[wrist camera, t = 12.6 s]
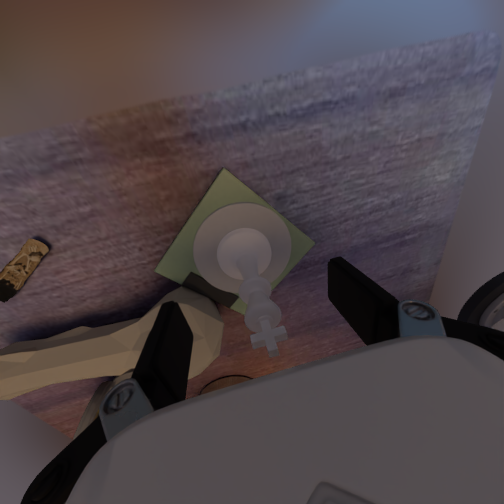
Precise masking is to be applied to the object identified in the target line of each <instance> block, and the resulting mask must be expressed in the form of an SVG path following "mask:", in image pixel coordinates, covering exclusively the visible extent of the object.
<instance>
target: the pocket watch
mask: <svg viewBox="0 0 504 504" xmlns="http://www.w3.org/2000/svg"><path fill="white" fill-rule="evenodd" d="M134 369H135V368H132V369H129V370H128V371H126V372H125V373H123V374H122V375H117V376H116V377H115V378H114V380H112V381H106V382H102V383H101V384H100V386H99V387H98V388H97V390H96V391H95V393H94V395H93V397H92V398H91V400H90V402H89V404H88V406H87V408H86V410H85V412H84V414H83V416H82V418H81V420H80V423H79V425H78V428H77V430H76V433H75V435H74V438H73V440H74V439H75V438H76V437H77V436H78V435H79V434H80V433H81V432H82V431H84V430H85V429H86V428H87V427H88V426H89V425H90V424H91V423H92V422H93V421H94V420H95V419H96V418H97V417H98V416H99V407H100V404H101V402H102V400H103V398H104V397H105V395H106V394H107V393H108V392H109V391H110V390H111V389H112V388H113V387H114V386H115V385H116V384H118V383H119V382H121V381H123V380H125V379H129V378H131V376H132V374H133V371H134Z"/></svg>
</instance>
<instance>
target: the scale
mask: <svg viewBox="0 0 504 504" xmlns="http://www.w3.org/2000/svg"><path fill="white" fill-rule="evenodd" d="M240 228H251V229H255V230H257V231H259V232H261V233H262V234H263V235H264V236H265V237H266V238H267V239H268V241H269V243H270V247H271V252H272V255H271V261H270V263H269V265H268V267H267V268H266V270H265V271H264V272H263V273H261V274H260V275H259V277H263V278H265V279H267V280H268V281H269V282H270V284H271V291H272V290H273V289H274V288H275V287H276V286H277V285H278V284H279V283H280V281H281V280H282V279H283V278H284V277H285V276H286V275H287V274H288V273H289V272H290V271H291V270H292V268H293V267H294V266H295V265H296V264H297V263H298V262H299V261H300V260H301V259H302V258H303V256H304V255H305V254H306V253H307V252H308V251H309V250H310V249H311V248H312V247H313V246H314V244H315V242H314V241H313V240H311V239H310V238H309V237H308V236H306V235H305V234H304V233H303V232H302V231H300V230H299V229H298V228H297V227H296V226H294V225H293V224H292V223H291V222H289V221H288V220H287V219H286V218H285V217H283V216H282V215H281V214H280V213H279V212H277V211H276V210H275V209H274V208H273V207H271V206H270V205H269V204H268V203H266V202H265V201H264V200H263V199H262V198H260V197H259V196H258V195H257V194H256V193H254V192H253V191H252V190H251V189H250V188H248V187H247V186H246V185H245V184H243V183H242V182H241V181H240V180H239V179H237V178H236V177H235V176H234V175H233V174H231V173H230V172H229V171H228V170H226V169H225V168H224V167H223V168H222V169H221V171H220V172H219V174H218V175H217V177H216V178H215V180H214V181H213V183H212V184H211V186H210V187H209V189H208V190H207V192H206V193H205V195H204V196H203V198H202V199H201V201H200V202H199V204H198V205H197V207H196V208H195V210H194V211H193V213H192V214H191V215H190V217H189V218H188V220H187V221H186V223H185V224H184V226H183V227H182V229H181V230H180V232H179V233H178V235H177V236H176V238H175V239H174V241H173V242H172V244H171V245H170V247H169V248H168V250H167V251H166V253H165V254H164V256H163V257H162V259H161V260H160V262H159V264H158V265H157V267H156V269H155V270H154V272H156V273H158V274H160V275H162V276H164V277H167V278H169V279H171V280H173V281H175V282H177V283H179V284H181V285H183V286H185V287H187V288H189V289H191V290H193V291H195V292H197V293H199V294H201V295H204V296H206V297H208V298H210V299H212V300H214V301H216V302H218V303H220V304H222V305H224V306H226V307H228V308H231V309H233V310H235V311H237V312H239V313H241V314H243V315H245V312H246V309H247V305H248V304H246V303H244V302H243V301H242V299H241V298H240V296H239V288H240V286H241V284H242V283H243V282H244V280H239V279H234V278H232V277H230V276H228V275H227V274H225V273H224V272H223V271H222V269H221V268H220V266H219V263H218V260H217V248H218V245H219V243H220V241H221V240H222V239H223V237H224V236H225V235H227V234H228V233H229V232H231V231H233V230H236V229H240Z"/></svg>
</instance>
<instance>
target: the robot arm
mask: <svg viewBox="0 0 504 504" xmlns="http://www.w3.org/2000/svg"><path fill="white" fill-rule="evenodd" d="M328 297H329V300H330V301H331V302H332V304H333V305H334V306H335V307H336V309H337V310H338V311H339V312H340V314H341V315H342V316H343V317H344V318H345V320H346V321H347V322H348V323H349V325H350V326H351V327H352V328H353V329H354V331H355V332H356V333H357V334H358V336H359V337H360V338H361V339H362V340H363V342H364V343H365V344H366V345H367V346H364V347H361V348H357V349H354V350H350V351H347V352H343V353H340V354H336V355H333V356H329V357H326V358H323V359H319V360H316V361H312V362H309V363H305V364H302V365H299V366H295V367H292V368H289V369H285V370H282V371H278V372H275V373H272V374H268V375H265V376H262V377H258V378H255V379H252V380H248V381H245V382H242V383H238V384H235V385H232V386H228V387H225V388H222V389H219V390H215V391H212V392H209V393H205V394H202V395H199V396H196V397H193V398H190V399H187V400H185V397H186V390H187V382H188V375H189V368H190V361H191V354H192V347H193V339H194V337H193V332H192V330H191V328H190V326H189V324H188V322H187V320H186V318H185V316H184V314H183V312H182V310H181V308H180V306H179V304H178V303H177V302H174V301H169V302H165V303H162V305H161V307H160V310H159V312H158V315H157V317H156V320H155V322H154V325H153V327H152V329H151V331H150V332H149V334H148V337H147V339H146V342H145V344H144V347H143V349H142V351H141V354H140V356H139V359H138V361H137V364H136V366H135V369H134V371H133V374H132V376H131V378H129V379H125V380H123V381H121V382H119V383H118V384H116V385H115V386H114V387H113V388H112V389H111V390H110V391H109V392H108V393H107V394H106V395H105V397H104V398H103V400H102V402H101V404H100V407H99V416H98V417H97V418H96V419H95V420H94V421H93V422H92V423H91V424H90V425H89V426H88V427H87V428H86V429H85V430H84V431H82V432H81V433H80V434H79V435H78V436H77V437H76V438H75V439H74V440H73V441H72V442H71V443H70V444H69V445H68V446H67V447H66V448H65V449H64V450H62V451H61V452H60V453H59V454H58V455H57V456H56V457H55V458H54V459H53V460H52V461H51V462H50V463H49V464H48V465H47V466H46V467H45V468H44V469H43V470H42V471H41V472H40V473H39V474H38V475H37V476H36V478H35V479H34V480H33V482H32V483H31V484H30V486H29V488H28V489H27V491H26V493H25V494H24V497H23V499H22V501H21V504H504V293H502V294H501V295H500V296H498V297H497V298H496V299H495V300H494V301H493V302H492V303H491V304H490V305H489V306H488V307H487V308H486V309H485V311H484V312H483V314H482V315H481V318H480V321H479V325H475V324H471V323H467V322H463V321H458V320H454V319H450V318H446V317H441V316H440V314H439V312H438V311H437V310H436V309H435V308H434V307H433V306H431V305H429V304H427V303H425V302H422V301H419V300H413V299H407V300H403V301H400V302H399V301H398V300H397V299H395V297H394V296H392V295H391V294H390V293H388V292H387V291H386V290H384V289H383V288H382V287H380V286H379V285H378V284H376V283H375V282H374V281H373V280H371V279H370V278H369V277H367V276H366V275H365V274H363V273H362V272H361V271H359V270H358V269H357V268H355V267H354V266H353V265H351V264H350V263H349V262H347V261H346V260H345V259H343V258H342V257H336V258H332V259H330V262H328Z"/></svg>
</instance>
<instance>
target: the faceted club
mask: <svg viewBox="0 0 504 504" xmlns="http://www.w3.org/2000/svg"><path fill="white" fill-rule="evenodd" d="M169 301H174V302H177V303H178V304H179V306H180V308H181V310H182V312H183V314H184V316H185V318H186V320H187V322H188V324H189V326H190V328H191V330H192V332H193V337H194V339H193V347H192V354H191V361H190V368H189V375H188V380H189V379H191V378H193V377H195V376H197V375H199V374H200V373H202V372H203V371H204V370H205V369H206V368H207V367H208V366H209V365H210V364H211V363H212V362H213V361H214V360H215V359H216V358H217V357H218V356H219V353H220V347H221V341H222V334H223V328H224V322H223V320H222V318H221V316H220V314H219V311H218V309H217V307H216V305H215V303H214V301H213V300H211V299H209V298H208V297H206V296H204V295H201V294H199V293H197V292H195V291H193V290H190V289H188V288H186V287H184V286H181V287H179V288H177V289H176V290H174V291H172V292H170V293H168V294H166V295H165V296H164V297H163V298H162V299H161V300H160V301H159V302H158V303H157V304H156V305H155V306H154V307H153V308H152V309H150V310H149V311H148V312H147V313H146V314H145V315H144V316H143V317H141V318H137V319H132V320H128V321H123V322H119V323H114V324H110V325H105V326H101V327H96V328H90V327H85V326H81V327H78V328H75V329H72V330H69V331H66V332H63V333H61V334H58V335H55V336H52V337H49V338H46V339H39V340H31V341H23V342H15V343H13V344H11V345H9V346H7V347H5V348H3V349H1V350H0V400H9V399H12V398H14V397H16V396H19V395H22V394H24V393H27V392H30V391H33V390H36V389H39V388H42V387H44V386H47V385H50V384H54V383H61V382H67V381H74V380H81V379H88V378H95V377H101V376H117V375H122V374H123V373H125V372H126V371H128V370H129V369H131V368H135V366H136V364H137V361H138V359H139V356H140V354H141V351H142V349H143V347H144V344H145V342H146V339H147V337H148V334H149V332H150V331H151V329H152V327H153V325H154V322H155V320H156V317H157V315H158V312H159V310H160V307H161V305H162V303H165V302H169Z"/></svg>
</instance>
